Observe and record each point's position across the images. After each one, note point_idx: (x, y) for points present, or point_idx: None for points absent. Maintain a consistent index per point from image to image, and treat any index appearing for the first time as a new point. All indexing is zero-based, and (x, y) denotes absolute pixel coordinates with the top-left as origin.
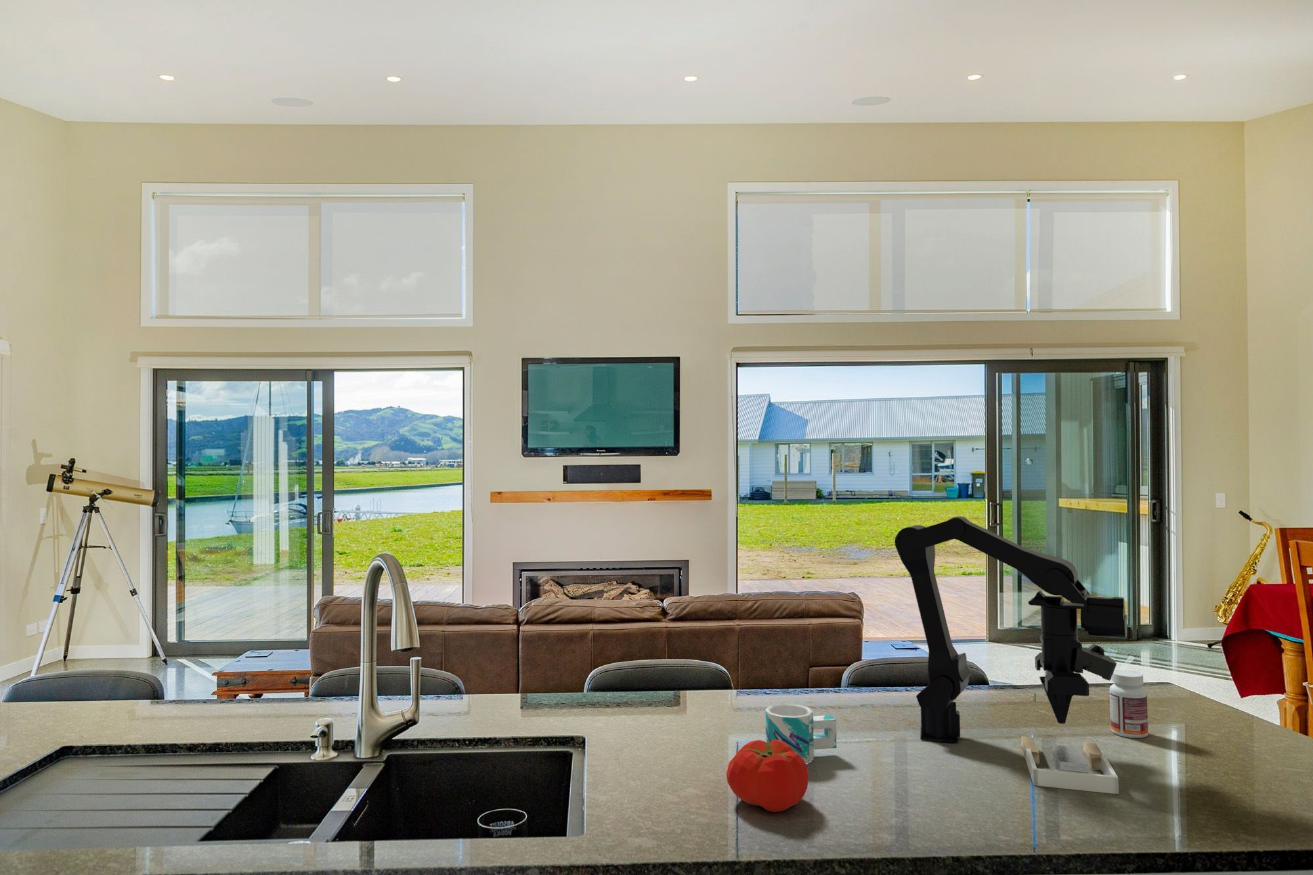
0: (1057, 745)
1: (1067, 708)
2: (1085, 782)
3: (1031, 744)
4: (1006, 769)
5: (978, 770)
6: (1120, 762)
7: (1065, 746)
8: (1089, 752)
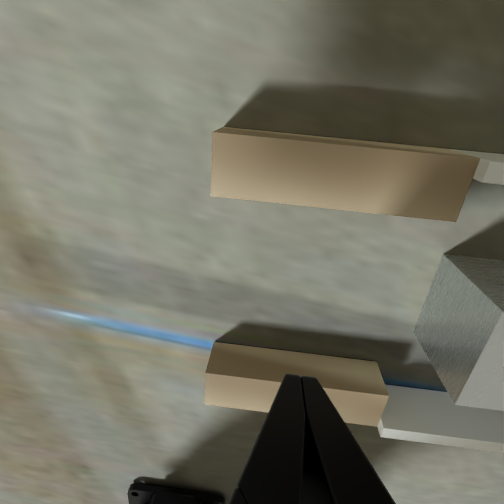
0: (464, 390)
1: (380, 492)
2: None
3: None
4: (422, 443)
5: (429, 493)
6: (320, 27)
7: (482, 365)
8: (380, 211)
